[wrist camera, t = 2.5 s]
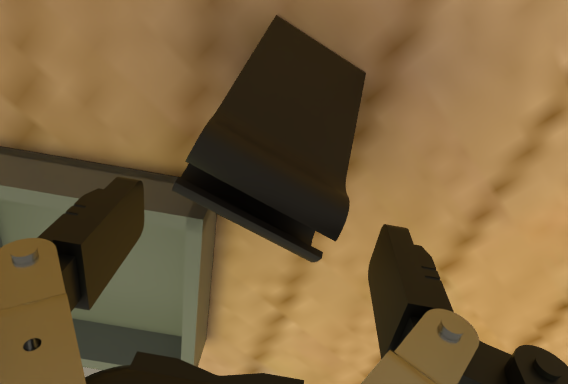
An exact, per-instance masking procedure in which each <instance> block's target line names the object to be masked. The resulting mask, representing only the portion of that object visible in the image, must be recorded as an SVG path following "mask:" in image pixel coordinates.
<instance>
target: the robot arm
mask: <svg viewBox="0 0 568 384" xmlns="http://www.w3.org/2000/svg"><path fill="white" fill-rule="evenodd" d="M143 228H144V186H143V182H142V181H141V180H136V179H130V178H124V177H116V178H115V179H114V180H113V181H112V182H111V183H110V184H109V185H108V186H107V187H106V188H105V189H100V188H98V189H96V190H93V191H91V192H89V193H87V194H85V195H83V196H82V197H81V198H80V199H79V200H78V201H76V202H75V203H74V206H71V207H70V208H69V209H68V210H67V211H66V213H65V214H64V213H63V214H62V215H61V216H60V217H59V218H58V219H57V220H56V221H55V222H54V223H53V224H51V225H50V226H49V227H48V228H47V229H46V230H45V231H44V232H43V233H42V234H41V235H39V236H38V237H37V238H26V239H20V240H16V241H13V242H11V243H8V244H6V245H4V246H2V247H1V248H0V384H304V380H300V379H294V378H288V377H282V376H277V375H271V374H265V373H258V374H243V375H228V376H218V375H214V374H212V373H210V372H208V371H205V370H203V369H201V368H199V367H196V366H194V365H192V364H190V363H187V362H185V361H183V360H181V359H178V358H173V357H167V356H162V355H156V354H150V353H144V352H139V351H137V352H136V354H135V356H134V359H133V361H132V363H131V365H123V366H117V367H112V368H109V369H105V370H102V371H99V372H97V373H94V374H91V375H89V376H87V377H85V376H84V372H83V367H82V362H81V357H80V353H79V348H78V343H77V339H76V334H75V329H74V325H73V320H72V315H71V312H72V310H73V309H74V308H78V309H84V310H89V311H90V309H91V308H92V306H93V305H94V303H95V302H96V300H97V299H98V298H99V296H100V295H101V293H102V292H103V290H104V289H105V287H106V286H107V285H108V283H109V282H110V280H111V279H112V277H113V276H114V274H115V273H116V272H117V270H118V269H119V267H120V266H121V264H122V263H123V261H124V260H125V259H126V257H127V256H128V254H129V253H130V251H131V250H132V248H133V247H134V246H135V244H136V243H137V241H138V240H139V238H140V236H141V234H142V231H143ZM368 280H369V286H370V292H371V298H372V305H373V311H374V317H375V323H376V329H377V335H378V341H379V348H380V354H381V360H380V362H379V363H378V364H377V365H376V366H375V368H374V369H373V370H372V371H371V372H370V374H369V375H368V376H367V377H366V379H365V380H364V381H363V382H362V383H361V384H568V366H567V365H566V364H565V363H564V362H563V361H561V360H560V359H559V358H558V357H556V356H555V355H553V354H552V353H550V352H548V351H546V350H544V349H542V348H539V347H536V346H532V345H522V346H519V347H518V348H517V349H516V350H515V351H514V353H513V354H512V355H511V354H508V353H506V352H504V351H501V350H499V349H497V348H494V347H492V346H489V345H487V344H485V343H483V342H481V341H479V337H478V334H477V332H476V331H475V329H474V328H473V326H472V325H471V324H470V323H469V322H468V321H467V320H465V319H464V318H463V317H461V316H460V315H458V314H456V313H454V312H453V309H452V307H451V304H450V302H449V299H448V297H447V294H446V292H445V289H444V287H443V284H442V282H441V281H440V277H439V274H438V272H437V271H436V267H435V264H434V262H433V259H432V257H431V256H430V255H429V254H428V253H427V252H426V251H425V249H424V248H423V247H422V246H419V245H414V244H413V241H412V238H411V236H410V233H409V230H408V229H407V228H403V227H398V226H392V225H386V224H384V225H383V227H382V228H381V231H380V234H379V237H378V240H377V243H376V245H375V248H374V251H373V254H372V257H371V260H370V264H369V270H368Z"/></svg>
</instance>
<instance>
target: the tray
mask: <svg viewBox="0 0 568 384" xmlns="http://www.w3.org/2000/svg"><path fill="white" fill-rule="evenodd" d="M116 177H124V178H130V179H136V180H141V181H142V182H143V186H144V228H143V231H142V234H141V236H140V238H139V240H138V241H137V243H136V244H135V246H134V247H133V248H132V250H131V251H130V253H129V254H128V256H127V257H126V259H125V260H124V261H123V263H122V264H121V266H120V267H119V269H118V270H117V272H116V273H115V274H114V276H113V277H112V279H111V280H110V282H109V283H108V285H107V286H106V287H105V289H104V290H103V292H102V293H101V295H100V296H99V298H98V299H97V300H96V302H95V303H94V305H93V306H92V308H91V309H90V311H89V310H84V309H78V308H74V309H73V310H72V312H71V315H72V320H73V325H74V329H75V334H76V339H77V343H78V348H79V353H80V357H81V362H82V367H87V368H93V369H99V370H105V369H109V368H112V367H117V366H123V365H131V363H132V361H133V359H134V356H135V354H136V352H137V351H139V352H144V353H150V354H156V355H162V356H167V357H173V358H178V359H181V360H183V361H185V362H187V363H190V364H192V365H194V366H196V367H198V365H199V361H200V358H201V354H202V351H203V348H204V344H205V341H206V336H207V324H208V312H209V300H210V289H211V277H212V265H213V253H214V242H215V230H216V218H217V213H215V212H213V211H211V210H209V209H207V208H205V207H203V206H201V205H199V204H197V203H195V202H193V201H191V200H189V199H187V198H185V197H184V196H182V195H180V194H178V193H176V192H174V191H172V188H173V185H174V183H175V181H176V179H177V178H178V177H175V176H169V175H163V174H157V173H152V172H146V171H140V170H134V169H128V168H123V167H117V166H111V165H105V164H99V163H94V162H88V161H82V160H76V159H70V158H65V157H59V156H53V155H47V154H41V153H35V152H30V151H24V150H18V149H12V148H6V147H1V146H0V248H1V247H2V246H4V245H6V244H8V243H11V242H13V241H16V240H20V239H26V238H37V237H38V236H39V235H41V234H42V233H43V232H44V231H45V230H46V229H47V228H48V227H49V226H50V225H51V224H53V223H54V222H55V221H56V220H57V219H58V218H59V217H60V216H61V215H62V214H63V213H64V214H65V213H66V211H67V210H68V209H69V208H70V207H71V206H74V203H75V202H76V201H78V200H79V199H80V198H81V197H82V196H83V195H85V194H87V193H89V192H91V191H93V190H96V189H98V188H100V189H105V188H106V187H107V186H108V185H109V184H110V183H111V182H112V181H113V180H114V179H115V178H116ZM180 178H181V177H180Z"/></svg>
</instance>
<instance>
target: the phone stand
mask: <svg viewBox="0 0 568 384" xmlns="http://www.w3.org/2000/svg"><path fill="white" fill-rule="evenodd" d="M365 74H366V73H365V72H363V71H362V70H360V69H359V68H357V67H355V66H354V65H352V64H351V63H349V62H348V61H346V60H345V59H343V58H342V57H340V56H338V55H337V54H335V53H334V52H332V51H331V50H329V49H328V48H326V47H325V46H323V45H321V44H320V43H318V42H317V41H315V40H314V39H312V38H311V37H309V36H308V35H306V34H304V33H303V32H301V31H300V30H298V29H297V28H295V27H294V26H292V25H291V24H289V23H287V22H286V21H284V20H283V19H281V18H280V17H278V16H277V15H276V16H275V18H274V20H273V21H272V23H271V25H270V26H269V28H268V29H267V31H266V33H265V34H264V36H263V37H262V39H261V41H260V42H259V44H258V46H257V47H256V49H255V50H254V52H253V54H252V55H251V57H250V58H249V60H248V62H247V63H246V65H245V66H244V68H243V70H242V71H241V73H240V75H239V76H238V78H237V79H236V81H235V83H234V84H233V86H232V87H231V89H230V91H229V92H228V94H227V96H226V97H225V99H224V100H223V102H222V104H221V105H220V107H219V108H218V110H217V111H216V113H215V114H214V116H213V117H212V118H211V119H210V120H209V122H208V123H207V125H206V126H205V128H204V129H203V131H202V133H201V134H200V136H199V138H198V139H197V141H196V143H195V145H194V146H193V148H192V150H191V152H190V154H189V155H188V157H187V159H186V162H188V163H189V164H188V166H187V168H186V169H185V171H184V173H183V174H182V176H181V178H180V177H178V178H177V179H176V181H175V183H174V185H173V188H172V191H174V192H176V193H178V194H180V195H182V196H184V197H185V198H187V199H189V200H191V201H193V202H195V203H197V204H199V205H201V206H203V207H205V208H207V209H209V210H211V211H213V212H215V213H217V214H219V215H221V216H222V217H224V218H226V219H228V220H230V221H232V222H234V223H236V224H238V225H240V226H242V227H244V228H246V229H248V230H250V231H252V232H254V233H256V234H258V235H259V236H261V237H263V238H265V239H267V240H269V241H271V242H273V243H275V244H277V245H279V246H281V247H283V248H285V249H287V250H289V251H291V252H293V253H295V254H296V255H298V256H300V257H302V258H304V259H306V260H308V261H310V262H317V261H319V260H320V259H321V258H322V254H323V252H321V251H320V250H318V249H316V248H314V247H312V246H311V244H312V239H313V236H314V233H315V231H317V232H319V233H321V234H323V235H324V236H326V237H328V238H330V239H332V240H334V241H336V240H337V238H338V237H339V235H340V233H341V231H342V229H343V227H344V224H345V222H346V219H347V215H348V211H349V198H348V196H347V193H346V186H345V185H346V175H347V170H348V164H349V159H350V154H351V149H352V143H353V138H354V133H355V127H356V122H357V117H358V112H359V106H360V101H361V96H362V90H363V85H364V80H365Z"/></svg>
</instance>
